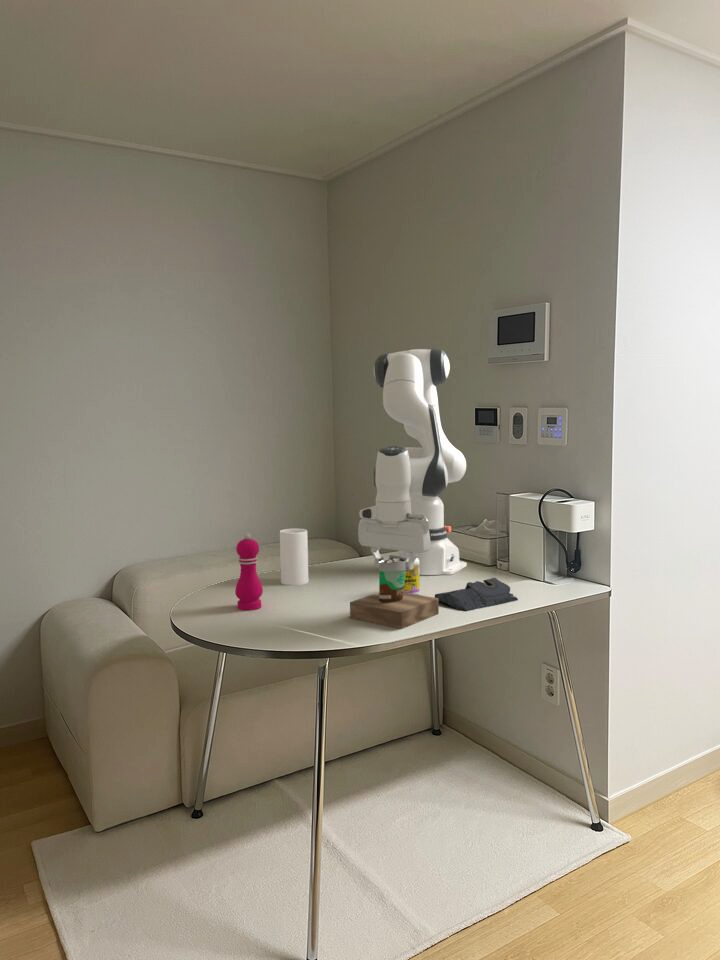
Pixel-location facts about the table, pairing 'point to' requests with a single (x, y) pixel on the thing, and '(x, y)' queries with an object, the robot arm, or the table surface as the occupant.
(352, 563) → the table surface
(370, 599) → the walnut base
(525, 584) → the table surface
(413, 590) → the supplement bottle
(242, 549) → the pepper mill
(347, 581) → the table surface
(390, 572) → the food container
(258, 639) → the table surface
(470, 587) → the folded dark cloth
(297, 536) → the cup
